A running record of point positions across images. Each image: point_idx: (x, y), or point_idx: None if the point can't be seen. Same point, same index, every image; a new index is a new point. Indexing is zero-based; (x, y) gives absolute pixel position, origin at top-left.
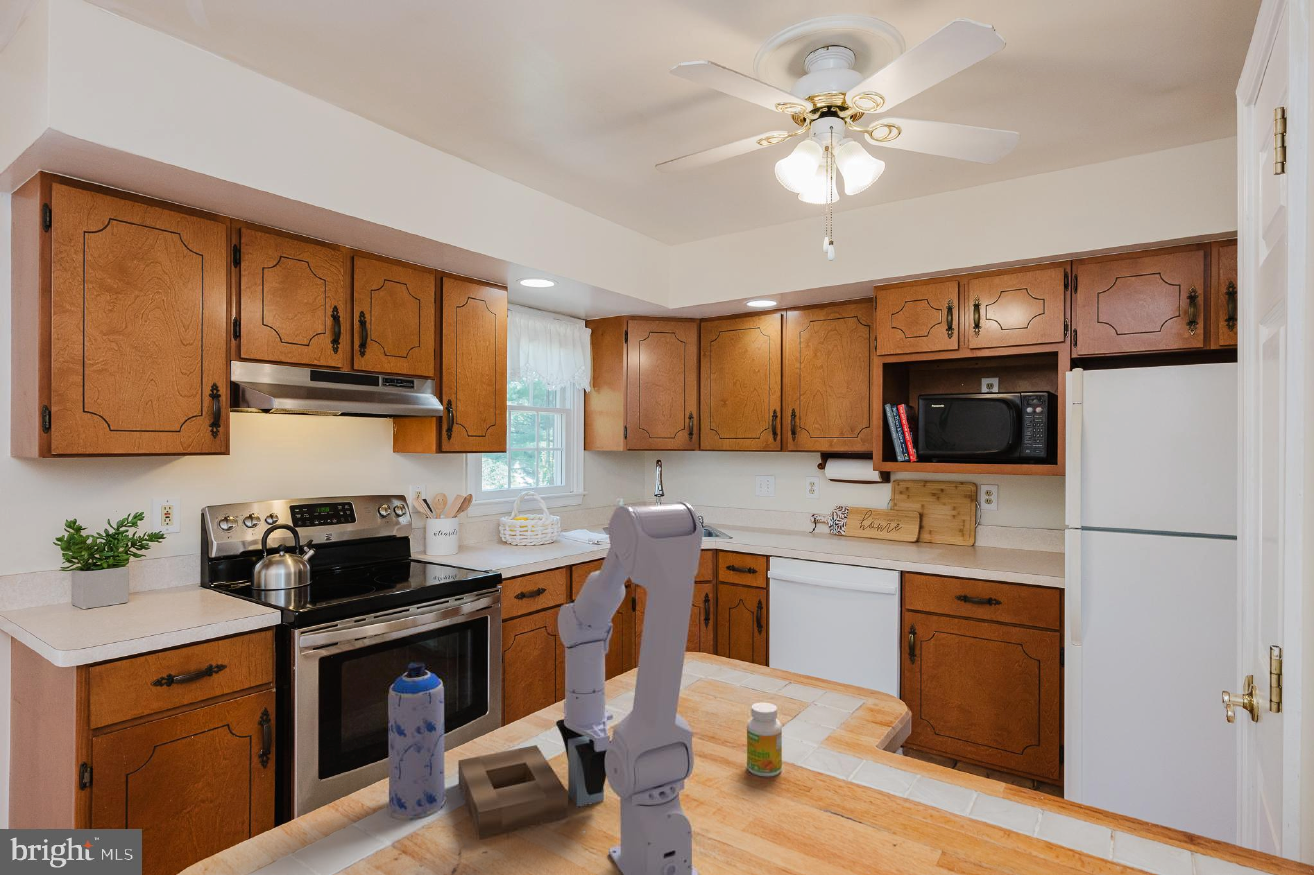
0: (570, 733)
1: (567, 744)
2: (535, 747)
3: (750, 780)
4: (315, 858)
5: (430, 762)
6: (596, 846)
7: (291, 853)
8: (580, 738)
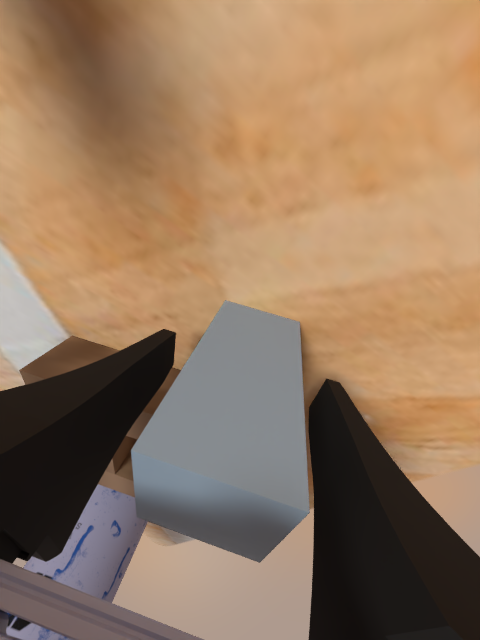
0: (79, 486)
1: (116, 445)
2: (33, 379)
3: None
4: (186, 535)
5: (114, 578)
6: (434, 435)
7: (169, 536)
8: (151, 501)
